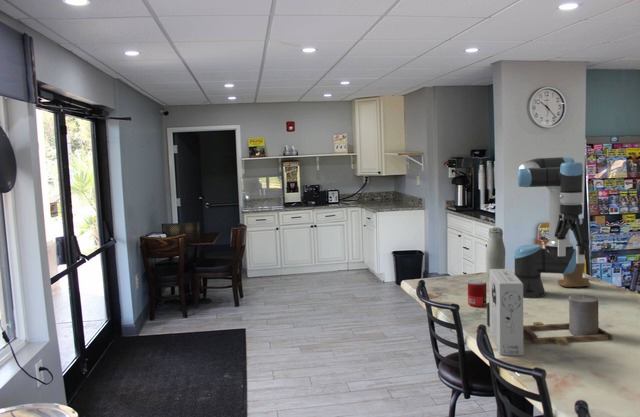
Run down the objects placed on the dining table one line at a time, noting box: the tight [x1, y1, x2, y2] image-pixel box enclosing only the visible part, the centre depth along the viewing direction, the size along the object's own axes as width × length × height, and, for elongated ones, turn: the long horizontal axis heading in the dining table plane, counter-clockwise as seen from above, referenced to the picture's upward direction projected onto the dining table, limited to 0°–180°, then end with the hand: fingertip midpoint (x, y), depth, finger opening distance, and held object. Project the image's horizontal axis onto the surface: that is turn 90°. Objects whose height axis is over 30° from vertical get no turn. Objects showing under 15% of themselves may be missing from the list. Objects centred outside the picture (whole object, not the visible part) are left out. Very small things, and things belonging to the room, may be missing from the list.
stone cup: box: [557, 263, 591, 288], centre depth 247 cm, size 15×12×15 cm
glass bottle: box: [485, 227, 506, 278], centre depth 268 cm, size 10×10×28 cm
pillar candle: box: [568, 293, 600, 336], centre depth 185 cm, size 10×10×15 cm
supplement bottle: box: [486, 295, 490, 328], centre depth 197 cm, size 7×7×12 cm
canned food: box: [467, 278, 487, 308], centre depth 224 cm, size 8×8×11 cm
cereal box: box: [488, 268, 524, 357], centre depth 178 cm, size 22×8×25 cm, turn 170°
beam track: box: [523, 321, 613, 346], centre depth 185 cm, size 29×19×3 cm, turn 92°
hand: (570, 259), depth 188 cm, fingers open, 13 cm apart
